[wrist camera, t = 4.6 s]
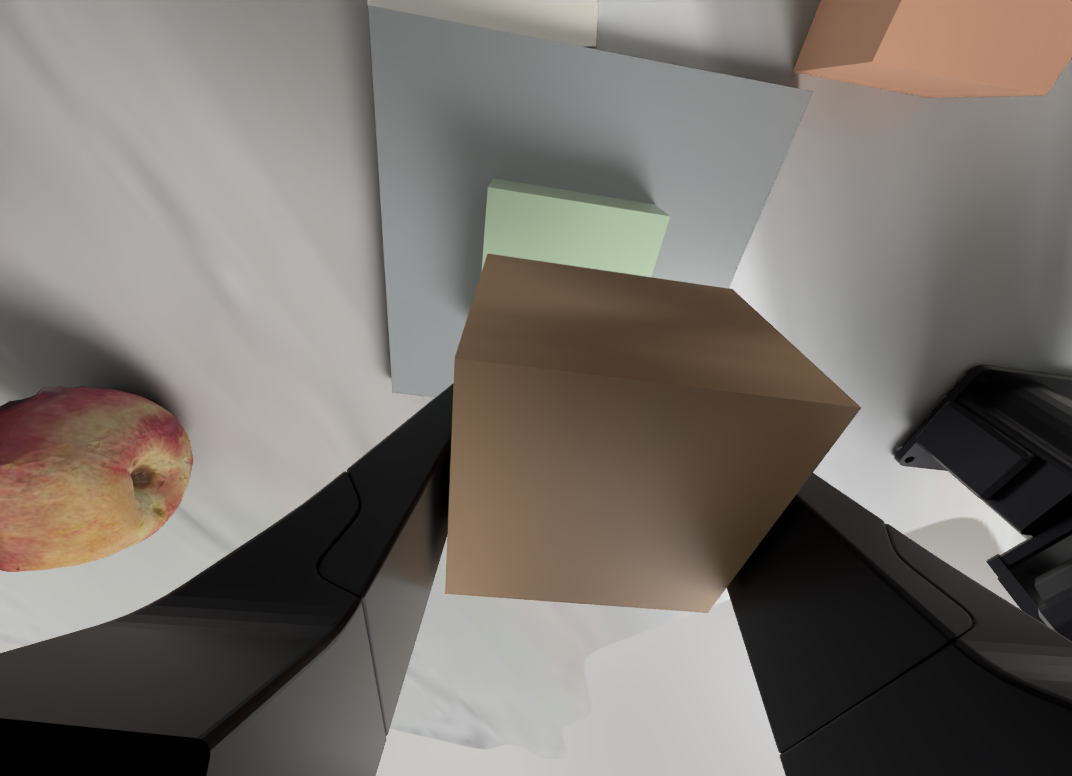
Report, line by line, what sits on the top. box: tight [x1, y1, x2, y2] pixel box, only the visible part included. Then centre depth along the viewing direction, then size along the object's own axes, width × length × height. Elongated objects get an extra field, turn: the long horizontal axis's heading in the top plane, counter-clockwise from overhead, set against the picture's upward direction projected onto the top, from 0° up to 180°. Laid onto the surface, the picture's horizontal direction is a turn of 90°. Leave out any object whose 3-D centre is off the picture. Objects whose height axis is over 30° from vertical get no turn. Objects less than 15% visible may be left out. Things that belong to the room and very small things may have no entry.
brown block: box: [445, 253, 861, 613], centre depth 8 cm, size 5×5×4 cm
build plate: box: [368, 5, 813, 397], centre depth 16 cm, size 14×14×3 cm
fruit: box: [0, 386, 193, 572], centre depth 18 cm, size 8×8×8 cm
